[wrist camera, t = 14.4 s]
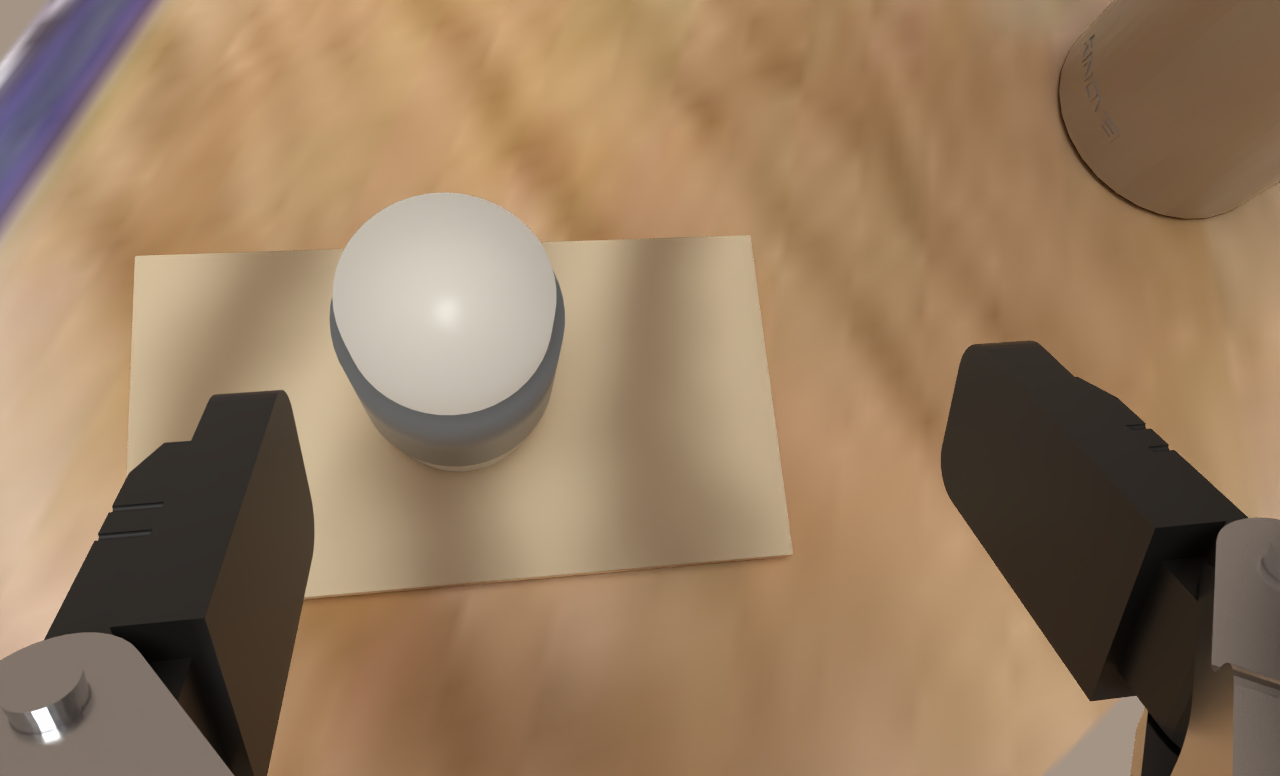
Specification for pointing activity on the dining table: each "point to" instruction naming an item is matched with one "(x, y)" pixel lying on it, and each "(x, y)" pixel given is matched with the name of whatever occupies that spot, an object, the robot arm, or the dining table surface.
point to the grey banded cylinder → (448, 328)
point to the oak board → (546, 459)
